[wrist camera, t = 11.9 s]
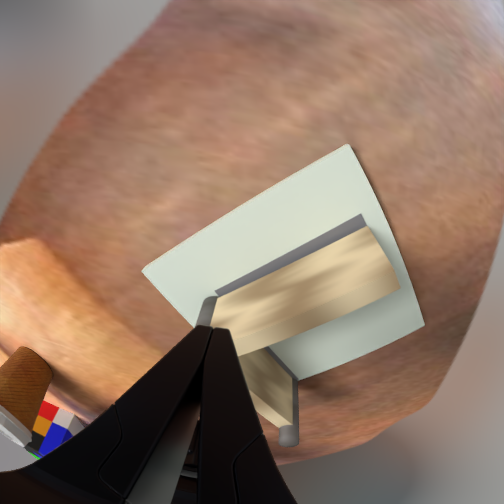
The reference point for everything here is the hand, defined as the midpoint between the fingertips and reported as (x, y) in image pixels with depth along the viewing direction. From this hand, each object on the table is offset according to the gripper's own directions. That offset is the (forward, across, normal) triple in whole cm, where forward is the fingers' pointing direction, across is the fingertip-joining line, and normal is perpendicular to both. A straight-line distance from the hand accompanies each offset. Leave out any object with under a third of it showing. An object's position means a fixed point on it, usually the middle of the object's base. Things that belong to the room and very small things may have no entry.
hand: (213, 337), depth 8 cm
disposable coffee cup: (+12, +27, +26) cm, 39 cm away
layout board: (+12, -4, +7) cm, 14 cm away
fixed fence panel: (+12, -2, +12) cm, 17 cm away
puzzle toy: (+13, +30, +44) cm, 55 cm away
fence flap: (+11, -3, +5) cm, 12 cm away
